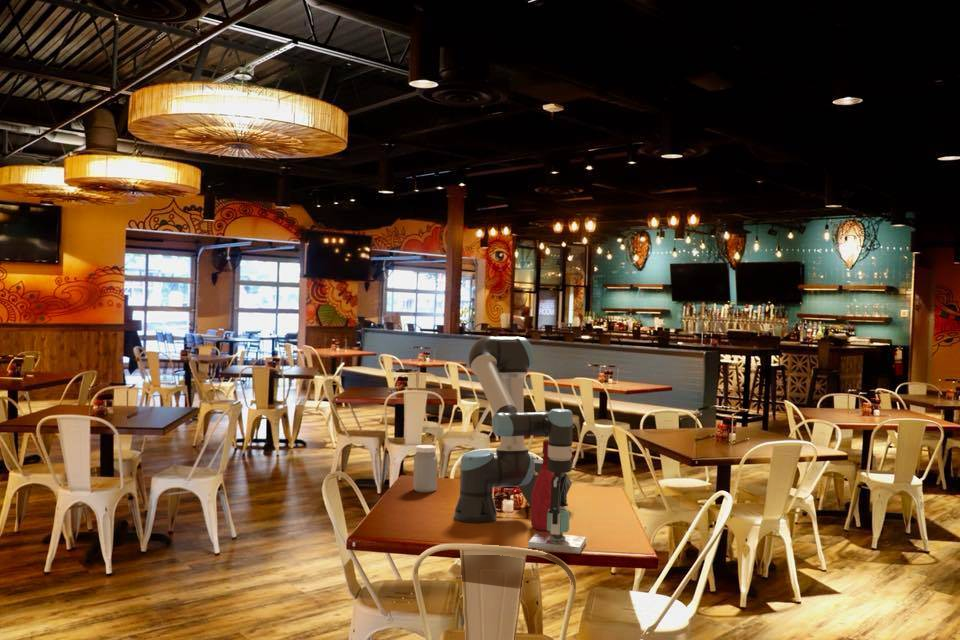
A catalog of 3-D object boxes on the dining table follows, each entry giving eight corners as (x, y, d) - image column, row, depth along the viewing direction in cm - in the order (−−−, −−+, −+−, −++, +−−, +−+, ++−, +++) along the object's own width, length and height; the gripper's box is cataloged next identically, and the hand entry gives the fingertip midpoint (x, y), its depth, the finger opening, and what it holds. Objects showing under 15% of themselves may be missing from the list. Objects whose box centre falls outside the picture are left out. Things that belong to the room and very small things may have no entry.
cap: (545, 531, 246) (546, 512, 246) (549, 526, 253) (550, 507, 253) (566, 533, 244) (566, 514, 244) (570, 528, 251) (570, 509, 251)
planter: (579, 495, 298) (551, 448, 301) (577, 500, 291) (548, 451, 293) (542, 517, 302) (514, 469, 304) (539, 522, 294) (510, 473, 297)
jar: (410, 492, 318) (411, 447, 318) (416, 487, 328) (417, 443, 328) (433, 493, 316) (435, 448, 316) (439, 488, 326) (440, 445, 326)
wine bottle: (551, 533, 262) (554, 443, 262) (525, 528, 267) (528, 440, 267) (564, 527, 271) (566, 440, 271) (538, 522, 276) (541, 437, 276)
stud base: (528, 548, 245) (529, 516, 245) (536, 537, 257) (537, 507, 257) (579, 553, 241) (580, 521, 240) (585, 543, 252) (586, 512, 252)
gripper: (565, 465, 237) (563, 540, 237) (577, 454, 257) (575, 523, 257) (541, 463, 239) (539, 537, 240) (554, 452, 260) (552, 521, 260)
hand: (557, 530), depth 249 cm, fingers open, 8 cm apart
